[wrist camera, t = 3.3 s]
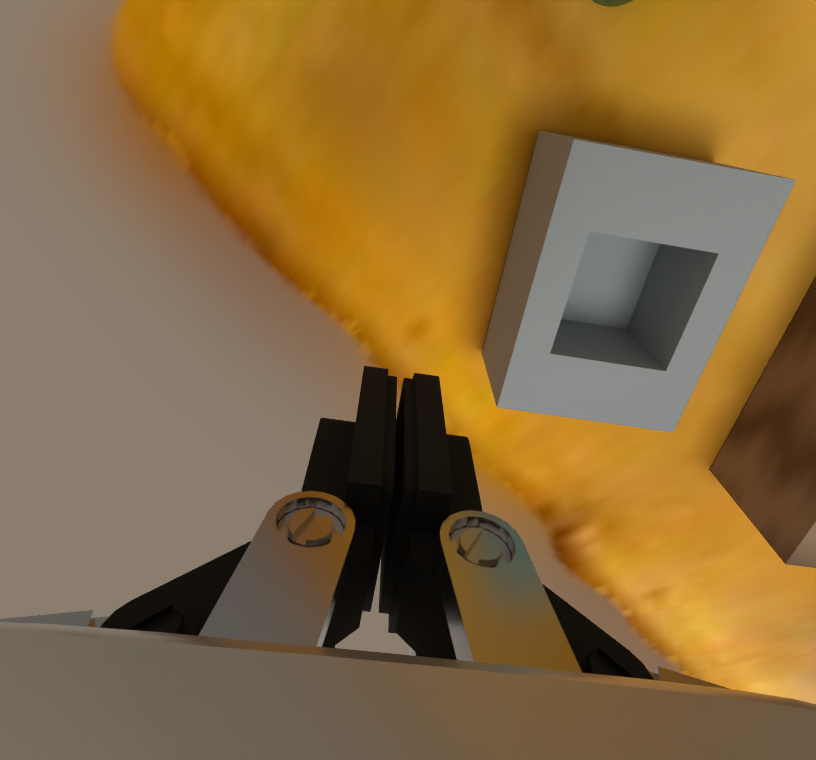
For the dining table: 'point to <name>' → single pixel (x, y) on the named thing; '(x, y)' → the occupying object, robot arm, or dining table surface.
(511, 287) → the socket block
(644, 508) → the dining table surface
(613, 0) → the dowel
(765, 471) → the backstop wall
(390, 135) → the dining table surface
